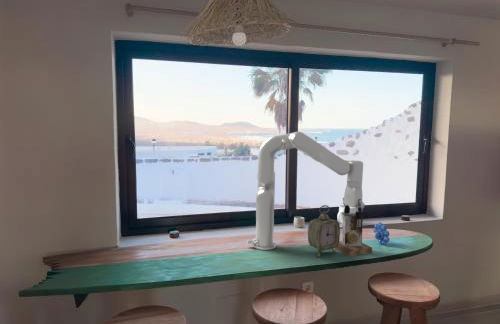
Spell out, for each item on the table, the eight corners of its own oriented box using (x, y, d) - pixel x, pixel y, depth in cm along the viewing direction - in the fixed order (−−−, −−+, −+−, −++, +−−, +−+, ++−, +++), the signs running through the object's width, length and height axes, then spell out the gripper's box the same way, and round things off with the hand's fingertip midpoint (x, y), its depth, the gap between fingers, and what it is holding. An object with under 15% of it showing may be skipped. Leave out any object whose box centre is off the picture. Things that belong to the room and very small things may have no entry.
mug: (344, 229, 219) (345, 209, 218) (331, 225, 228) (331, 206, 227) (358, 226, 227) (359, 206, 226) (345, 222, 236) (346, 204, 235)
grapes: (367, 241, 194) (368, 221, 193) (377, 240, 196) (378, 220, 195) (382, 248, 183) (383, 226, 182) (392, 246, 185) (393, 225, 185)
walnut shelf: (348, 256, 170) (348, 250, 170) (333, 247, 183) (333, 241, 183) (371, 253, 175) (372, 247, 175) (355, 244, 188) (355, 239, 188)
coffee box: (358, 242, 182) (360, 213, 181) (362, 246, 176) (363, 215, 174) (341, 242, 182) (342, 212, 181) (344, 246, 176) (345, 215, 175)
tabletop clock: (318, 259, 166) (319, 208, 164) (305, 253, 173) (307, 204, 171) (339, 253, 173) (340, 205, 171) (326, 248, 181) (327, 202, 179)
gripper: (338, 182, 183) (336, 213, 185) (358, 187, 167) (356, 221, 168) (350, 182, 186) (348, 212, 187) (371, 187, 169) (369, 220, 171)
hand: (352, 216), depth 178 cm, fingers open, 9 cm apart
